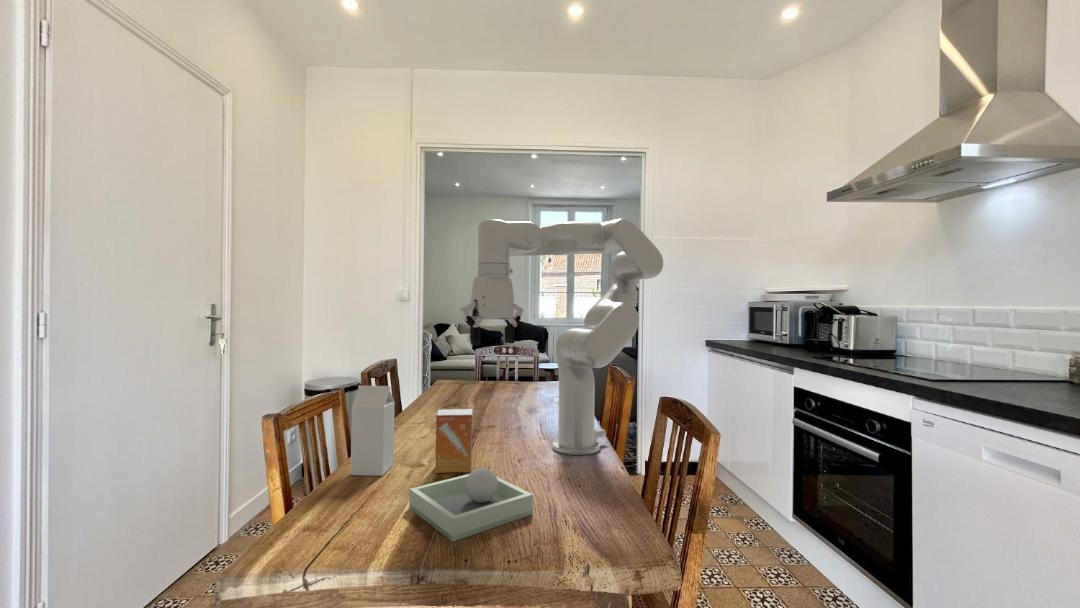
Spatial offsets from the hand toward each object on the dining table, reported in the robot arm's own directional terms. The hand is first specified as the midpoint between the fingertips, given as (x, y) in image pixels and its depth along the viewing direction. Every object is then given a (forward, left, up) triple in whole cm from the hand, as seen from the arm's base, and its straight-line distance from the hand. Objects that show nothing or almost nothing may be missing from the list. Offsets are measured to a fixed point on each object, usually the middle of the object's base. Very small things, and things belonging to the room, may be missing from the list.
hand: (492, 343), depth 111 cm
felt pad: (+18, +20, -28) cm, 39 cm away
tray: (+18, +20, -28) cm, 39 cm away
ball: (+16, +20, -24) cm, 35 cm away
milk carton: (+24, -12, -28) cm, 39 cm away
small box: (+9, -2, -29) cm, 30 cm away
